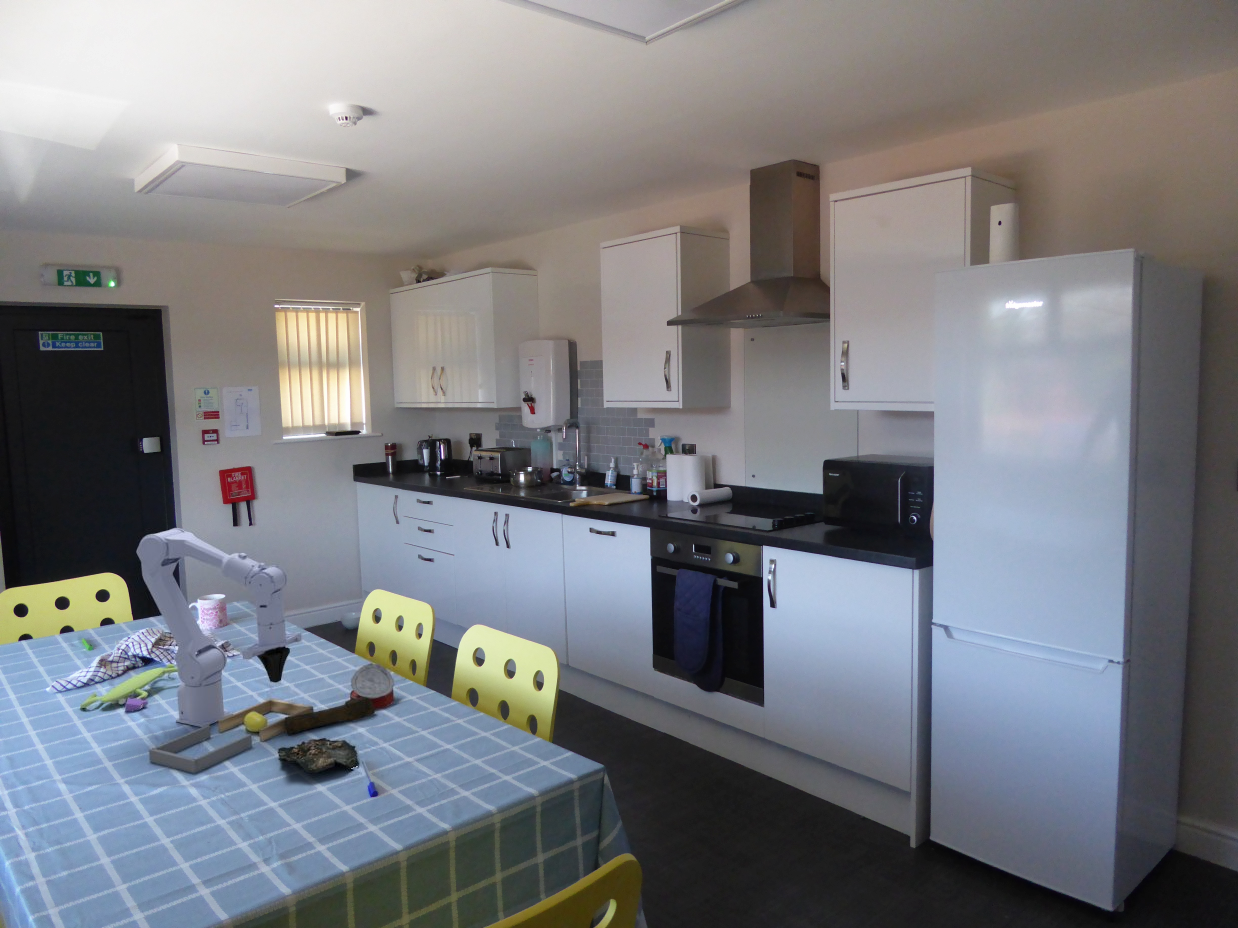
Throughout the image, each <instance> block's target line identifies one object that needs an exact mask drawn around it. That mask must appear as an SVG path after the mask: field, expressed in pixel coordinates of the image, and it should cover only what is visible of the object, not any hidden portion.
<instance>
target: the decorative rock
mask: <svg viewBox="0 0 1238 928" xmlns="http://www.w3.org/2000/svg"><path fill="white" fill-rule="evenodd" d="M356 747H357V746H355V745H352V744H350V743H349V742H348V741H347V740H345V739H343V740H342V739H341V740H339V739H338V740H331V739H327V738H326V737H323V738H322V737H321V738H317V739H316V738H313V739H309V740H306V741H302V742H301V743H299V744H296V745H294V746H293V745H292V746H289V747H285V746H283V747H280V748H278V751H277V754H278V757H279V758H278V759H277V760H278V761H279V762H283V763H287V762H290V763H291V764H293V763H296V764H298V766H300V767H301V768H303V769H304V771H305V772H307V773H309V774H317V773H319V772H321V771H326V770H327V769H330V768H333V767H335V764H336V763H337V764H338V766H344V767H346V768H347V769H348V771H354V770H353V769H351V768H353V767H356V766H358V767H359V762H358V754H357V750H356V749H355V748H356Z"/></svg>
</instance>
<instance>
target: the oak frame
mask: <svg viewBox="0 0 1238 928" xmlns="http://www.w3.org/2000/svg"><path fill="white" fill-rule="evenodd" d="M250 712H257V713H259V714H261V715H262V716H264V714H267V713H269V712H276V713H280V714H285V715H288V716H287V717H294V716H297V715H303V714H307V713H312V712H315V711H314V706H312V705H306V704H300V703H297V702H290V701H284V700H279V699H274V698H269V699H267V700H265V701H261V702H260V703H257V704H255V705H252V706H250V707H248V708H245V709H243V710H241V711H238V712H236V713H233V715H231V716H228V717H226V718H224V719H221V720H219V721H217V725H218V732H219V733H223V732H225V731H228V730H230V729H232V728H236V727H238V726H239V725H242V724H244V719H245V716H246V715H247V714H248V713H250ZM284 732H286V728H285V717H284V718H281V719H280V720H277V721H276V722H273V723H270V724H269V725H268V724H267V726H266V727H264V728H262V729H259V733H258V734H259V735H258V736H259V742H265V741H266V740H269V739H272V738H274V737H276V736H278V735H279V734H281V733H284Z"/></svg>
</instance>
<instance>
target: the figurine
mask: <svg viewBox="0 0 1238 928" xmlns="http://www.w3.org/2000/svg"><path fill="white" fill-rule="evenodd" d="M172 673H178V668H177V666H176V665H175V664H173V663H169V664H167V665H166V666H165V668H164V667H157V668H151V669H150V670H149V669H148V670H147V671H144V672H141V673H139V674H137V675H135V676H133V677H130V678H129V679H127V680H125V681H123V682H122V683H120V684H118V685H117V686H115V687H114V688H111V690H109V691H108V692H107V693H105V695H103V696H97V693H95V692H94V693H91V694H90V696H89V697H88V698H87V699H86V700H85V701H84V702H82V703H81V704H80V708H81V709H82V708H85V709H86V708H87V707H89V706H91V705H92V704H95V703H96V702H98V701H100V703H102V704H107V703H110V704H112V705H116V704H117V703H118V704H119V705H122V706H124V705H125V707H124V708H125V709H124V712H133V711H132V710H138V711H140V710H139V709H141V708H142V709H144V708H143V707H146V708H147V705H148V701H149V700H148V699H146V698H147V697H148V694H149V693H148V692H147V691H145V690H142V689H143V688H145V687H147V686H149V685H150V684H151V683H152V682H154V681H155V680H157V679H162V678H163V677H164V676H165V675H166V674H167V678H169V677H170V675H171V674H172ZM134 693H135V694H137V695H139V696H138V697H135V696H134V695H132V694H134ZM126 701H127V702H126ZM115 703H116V704H115ZM123 704H124V705H123ZM142 709H141V710H142Z"/></svg>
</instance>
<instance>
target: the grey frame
mask: <svg viewBox="0 0 1238 928" xmlns="http://www.w3.org/2000/svg"><path fill="white" fill-rule="evenodd" d="M210 738H211V726H210V725H207V726H204V727H199V728H198V729H196V730H193V731H191V732H189V733H185V734H183V735H181V736H179V737H175V738H173V739H171V740H169V741H167V742H165V743H162V744H160V745H156V746H154V747H153V748H150V749H148V756H149V762H150V763H153V764H157V765H161V766H165V767H167V768H172V769H176V770H180V771H183V772H188V773H190V774H197V773H199V772H202V771H203V770H205V769H209V767H212V766H214V765H216V764H218V763H220V762H223V761H224V760H227V759H229V758H231V757H234V756H235V755H237V754H239V753H241V752H244V751H246V750H248V749H250V748H252V747H253V743H252V742H253V740H252V734H245V735H244V736H242V737H239V738H237V739H235V740H233V741H230V742H229V743H226V744H225V745H221V746H220V747H218V748H216V749H213V750H211V751H209V752H207V753H204V754H202V755H200V756H198V757H197V756H196V757H195V758H194V757H189V756H185V755H183V754H182V755H181V754H177V753H178V752H180V751H182V750H184V749H186V748H188V747H189V748H190V747H192V746H194V745H196V744H198V743H200V742H202V741H203V742H204V741H205V740H208V739H210Z"/></svg>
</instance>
